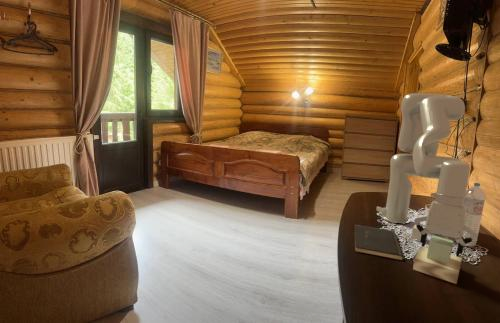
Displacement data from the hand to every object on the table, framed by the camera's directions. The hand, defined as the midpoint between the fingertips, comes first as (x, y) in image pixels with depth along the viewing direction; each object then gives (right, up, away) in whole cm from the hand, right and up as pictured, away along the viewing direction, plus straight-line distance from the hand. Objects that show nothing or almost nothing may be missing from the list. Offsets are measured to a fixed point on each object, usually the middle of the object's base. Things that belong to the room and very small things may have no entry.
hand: (440, 250), depth 99 cm
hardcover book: (-13, -3, +19) cm, 24 cm away
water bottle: (+24, -4, +23) cm, 33 cm away
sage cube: (0, -3, +1) cm, 3 cm away
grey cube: (+7, -3, +25) cm, 26 cm away
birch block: (0, -7, +1) cm, 7 cm away
